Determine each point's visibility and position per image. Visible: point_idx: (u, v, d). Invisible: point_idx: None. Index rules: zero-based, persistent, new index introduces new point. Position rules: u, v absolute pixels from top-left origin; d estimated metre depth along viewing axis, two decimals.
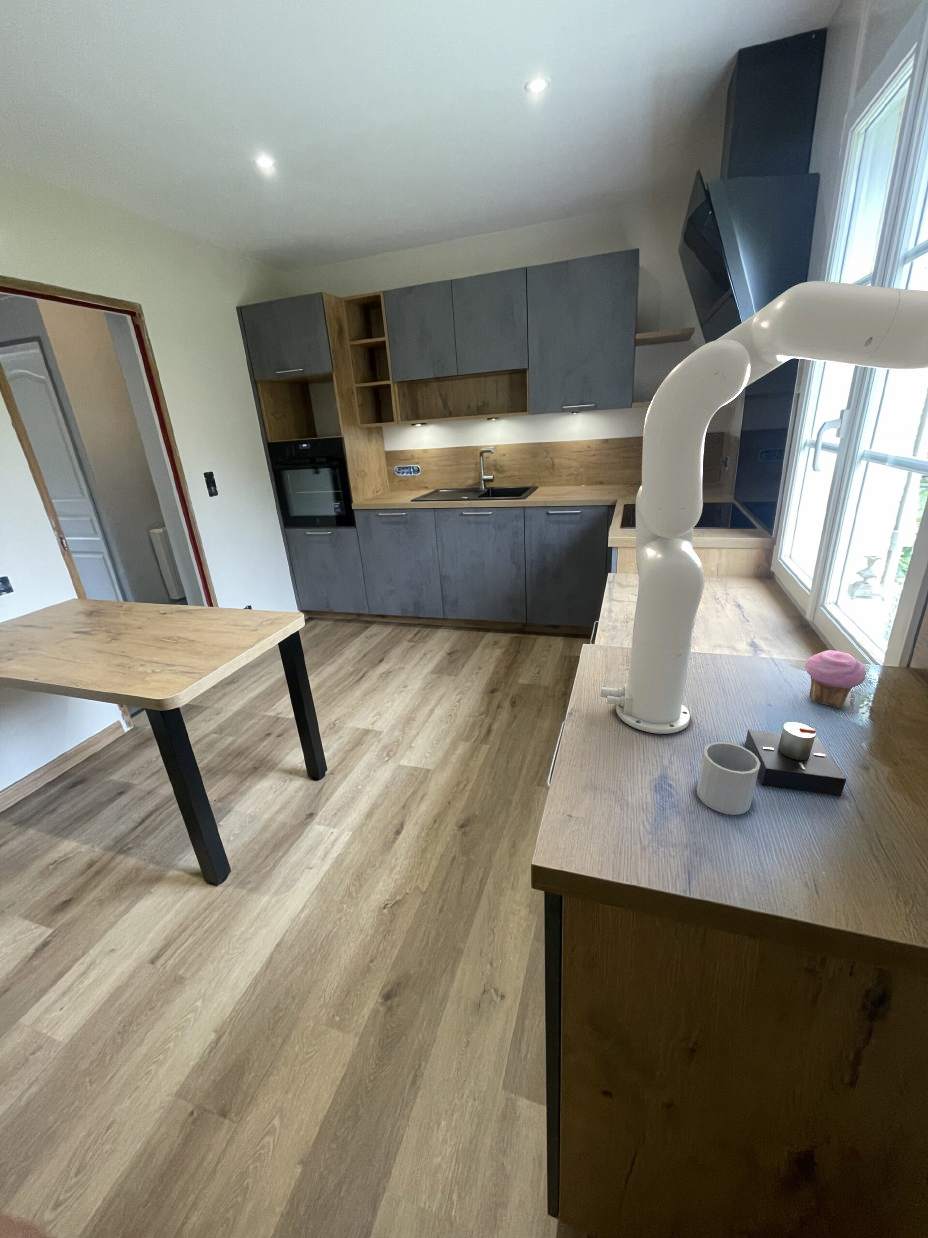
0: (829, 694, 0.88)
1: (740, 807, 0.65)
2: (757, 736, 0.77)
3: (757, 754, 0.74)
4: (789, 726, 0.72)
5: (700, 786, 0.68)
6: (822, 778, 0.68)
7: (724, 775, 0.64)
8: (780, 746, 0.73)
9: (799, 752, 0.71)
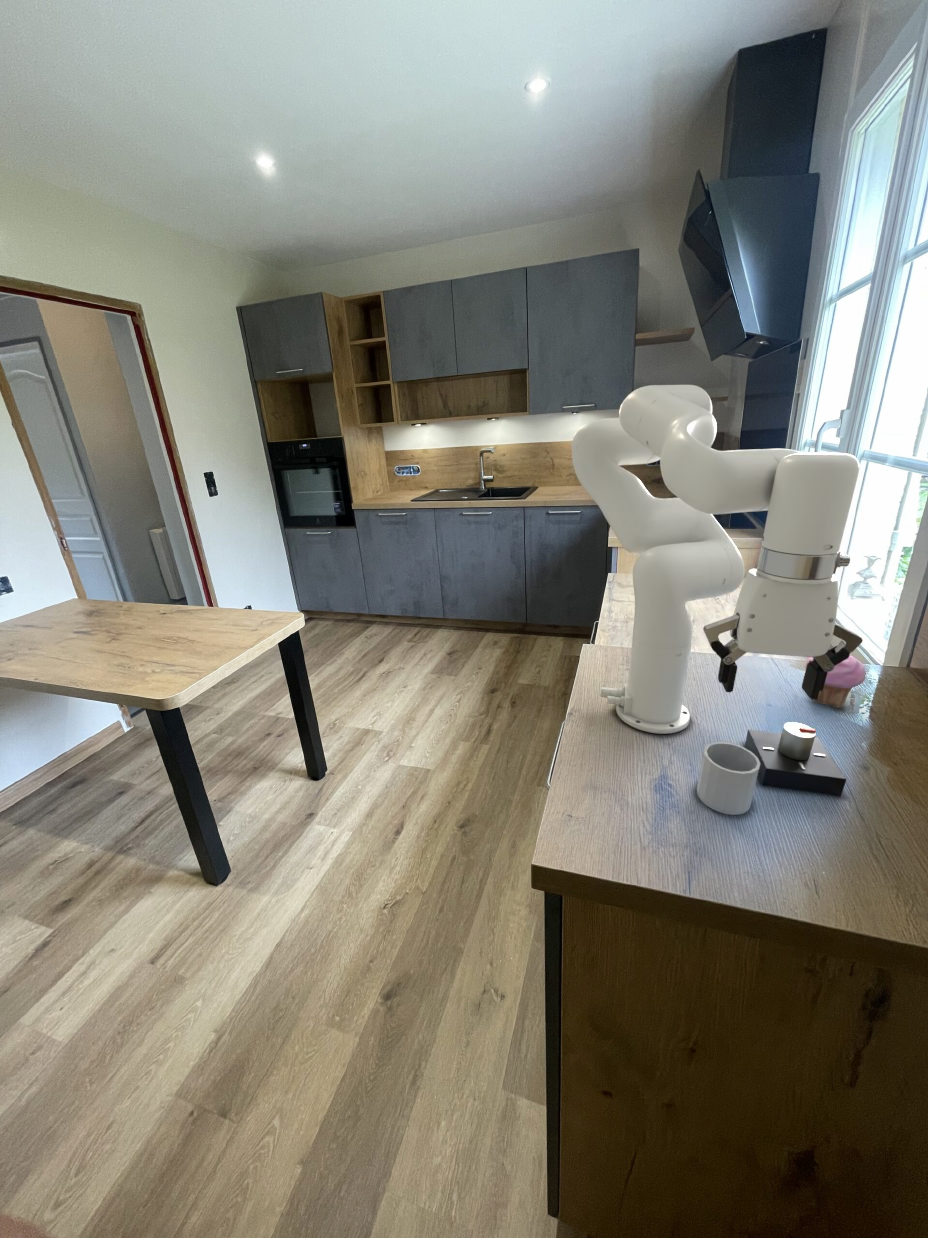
0: (829, 694, 0.88)
1: (740, 807, 0.65)
2: (757, 736, 0.77)
3: (757, 754, 0.74)
4: (789, 726, 0.72)
5: (700, 786, 0.68)
6: (822, 778, 0.68)
7: (724, 775, 0.64)
8: (780, 746, 0.73)
9: (799, 752, 0.71)
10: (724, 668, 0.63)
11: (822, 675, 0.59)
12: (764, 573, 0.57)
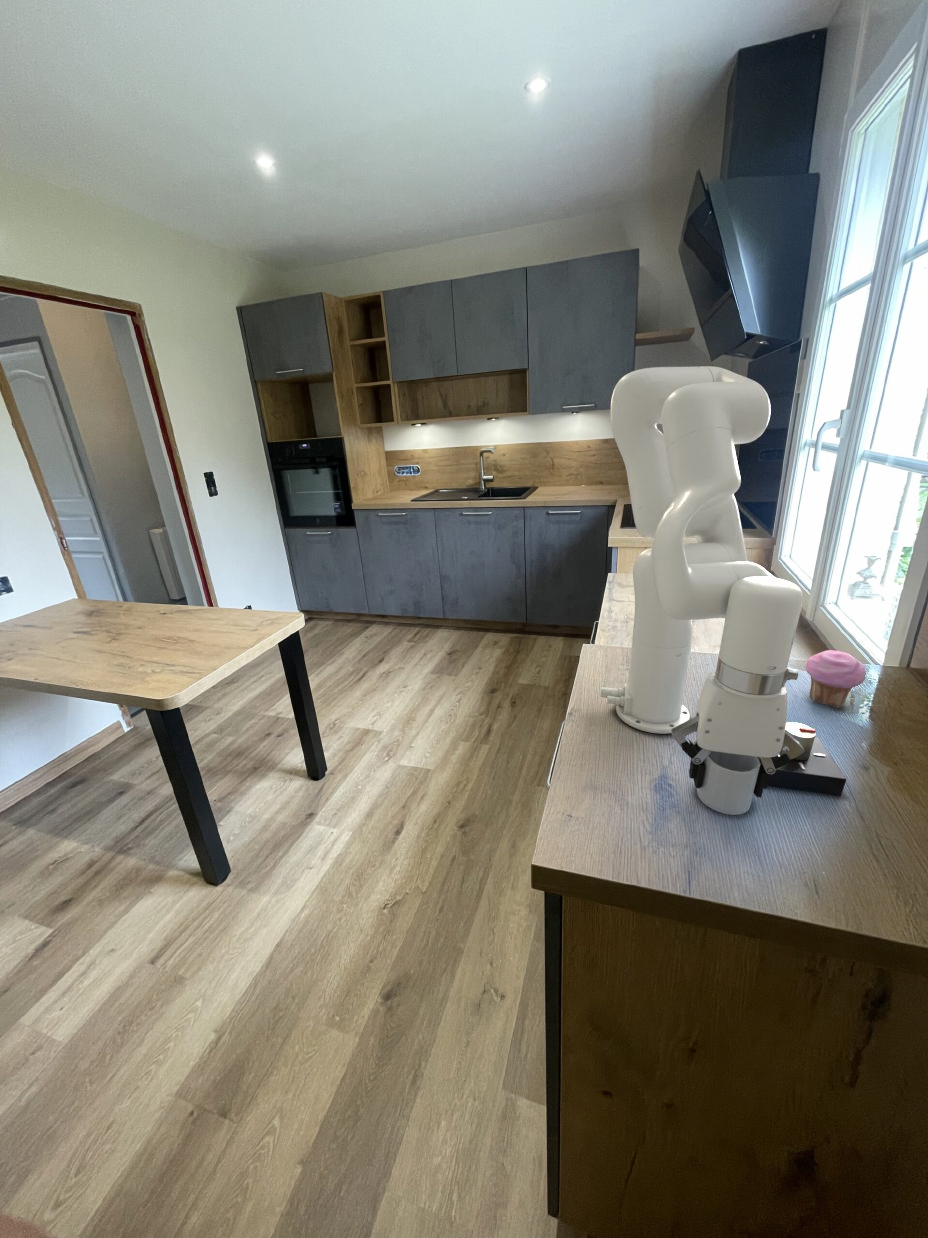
0: (829, 694, 0.88)
1: (740, 807, 0.65)
2: None
3: None
4: (789, 726, 0.72)
5: None
6: (822, 778, 0.68)
7: (725, 775, 0.64)
8: None
9: None
10: (693, 766, 0.68)
11: (765, 777, 0.64)
12: (720, 683, 0.62)
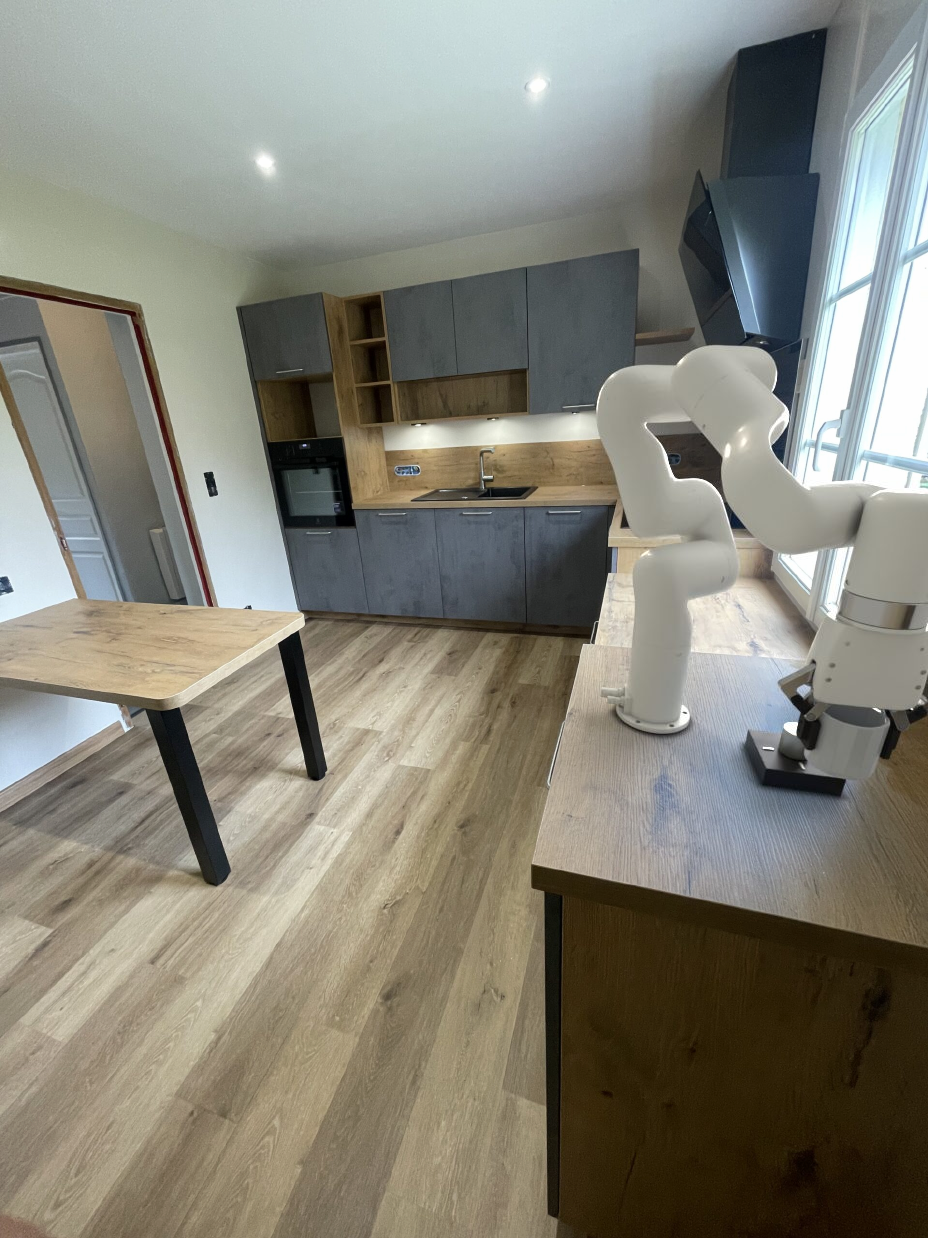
0: None
1: (865, 771, 0.55)
2: (757, 736, 0.77)
3: (757, 754, 0.74)
4: (789, 726, 0.72)
5: None
6: (822, 778, 0.68)
7: (849, 732, 0.54)
8: (780, 746, 0.73)
9: (799, 752, 0.71)
10: (805, 724, 0.58)
11: (896, 734, 0.54)
12: (847, 619, 0.52)
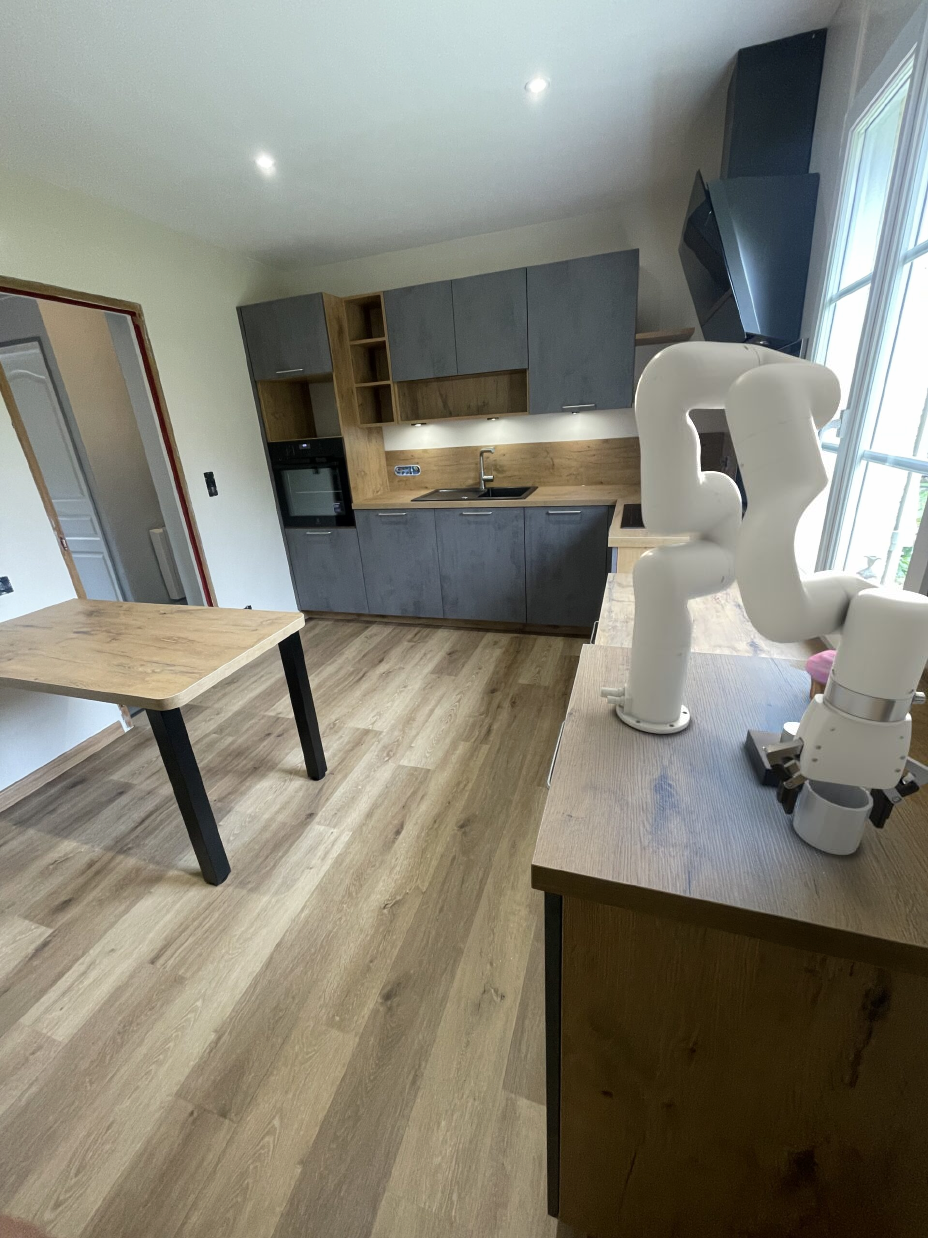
0: None
1: (849, 847, 0.59)
2: (757, 736, 0.77)
3: (757, 754, 0.74)
4: (789, 726, 0.72)
5: (800, 821, 0.62)
6: None
7: (834, 812, 0.58)
8: None
9: None
10: (784, 790, 0.61)
11: (889, 807, 0.58)
12: (833, 706, 0.55)
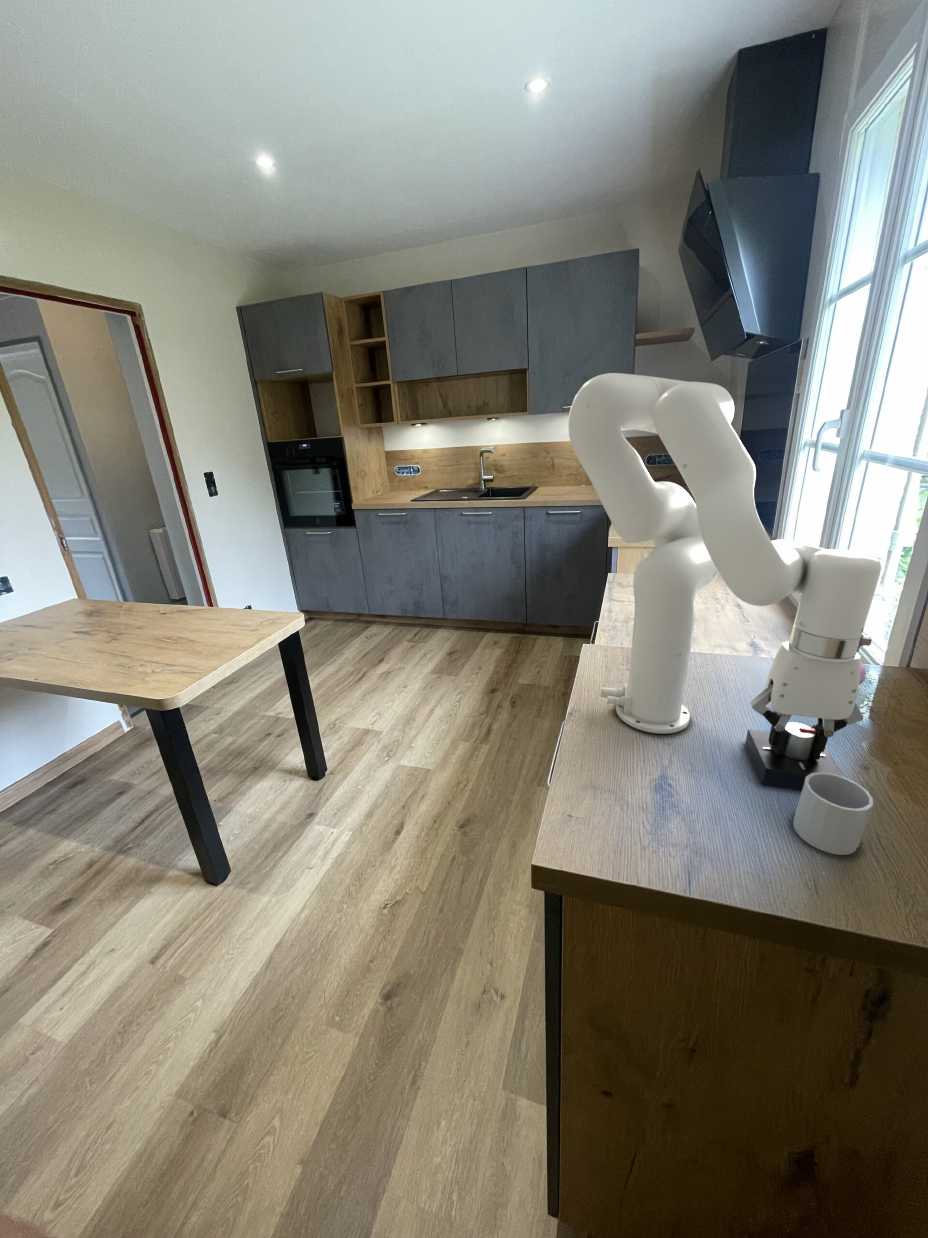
0: None
1: (849, 847, 0.59)
2: (757, 736, 0.77)
3: (757, 754, 0.74)
4: (789, 726, 0.72)
5: (800, 821, 0.62)
6: None
7: (834, 812, 0.58)
8: None
9: (799, 752, 0.71)
10: (775, 734, 0.72)
11: (823, 740, 0.70)
12: (796, 649, 0.66)
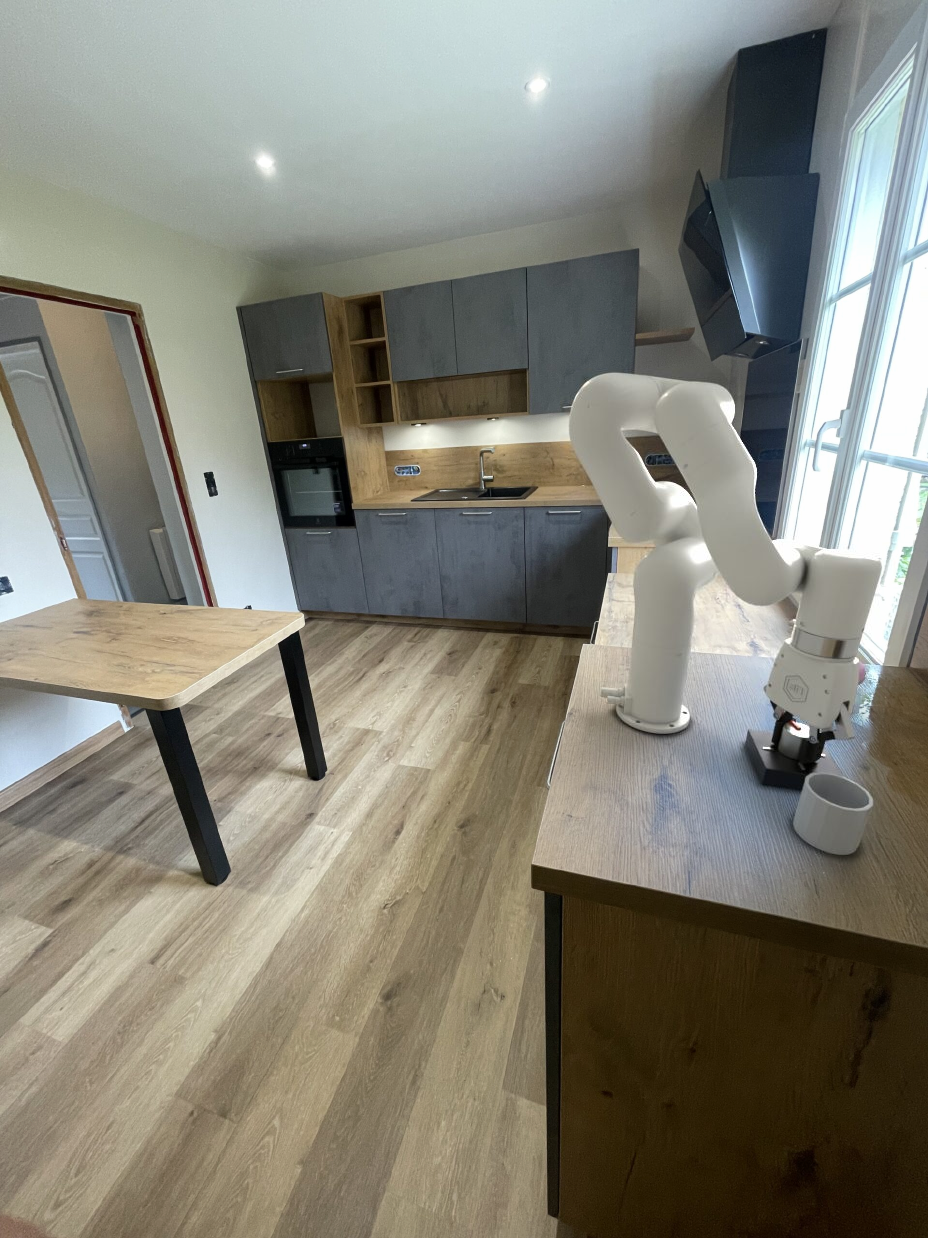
0: None
1: (849, 847, 0.59)
2: (757, 736, 0.77)
3: (757, 754, 0.74)
4: (800, 734, 0.71)
5: (800, 821, 0.62)
6: None
7: (834, 812, 0.58)
8: None
9: None
10: (823, 745, 0.69)
11: None
12: (854, 656, 0.64)
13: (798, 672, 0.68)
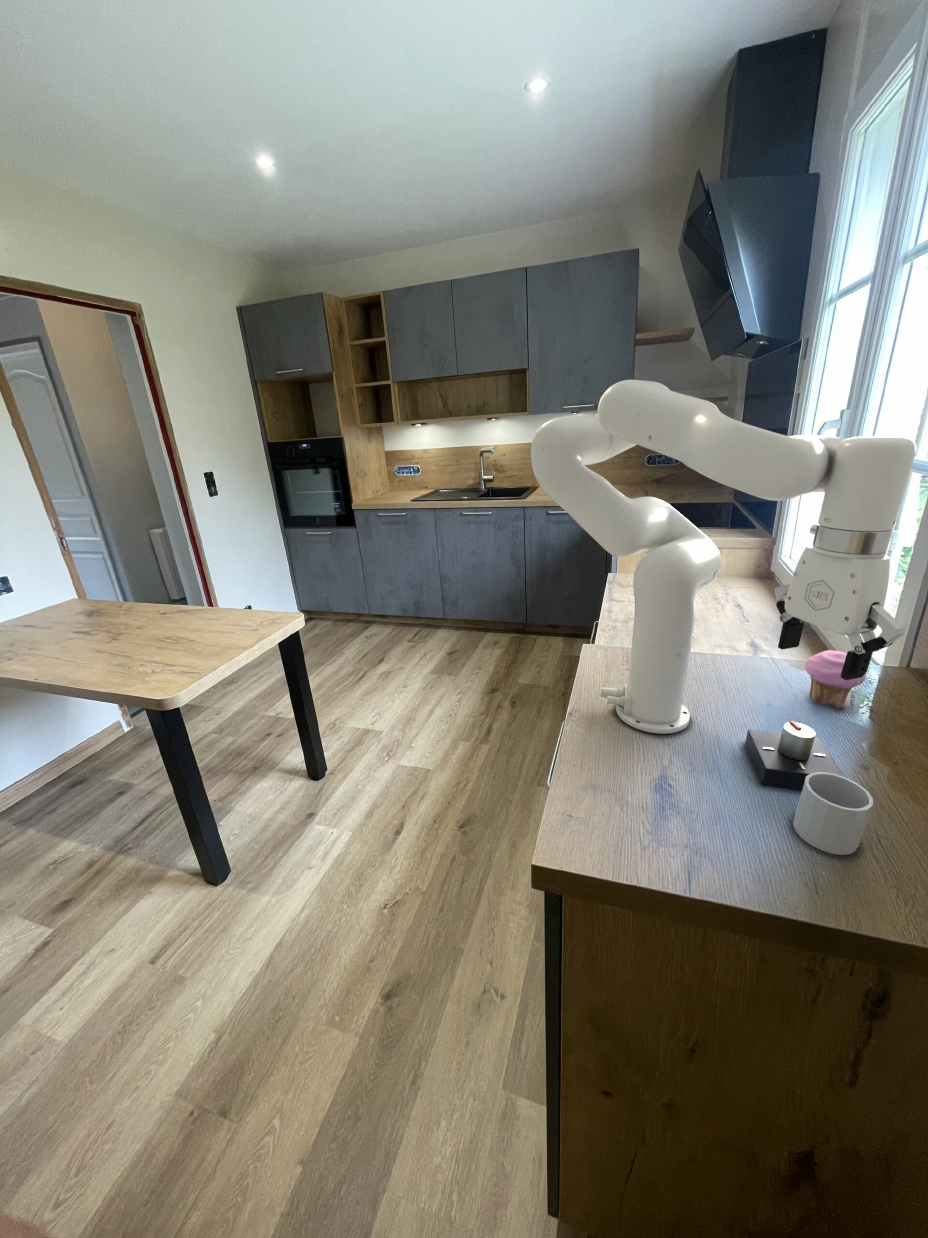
0: (829, 694, 0.88)
1: (849, 847, 0.59)
2: (757, 736, 0.77)
3: (757, 754, 0.74)
4: (800, 734, 0.71)
5: (800, 821, 0.62)
6: None
7: (834, 812, 0.58)
8: (804, 755, 0.71)
9: None
10: None
11: None
12: (884, 553, 0.59)
13: (822, 576, 0.62)
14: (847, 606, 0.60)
